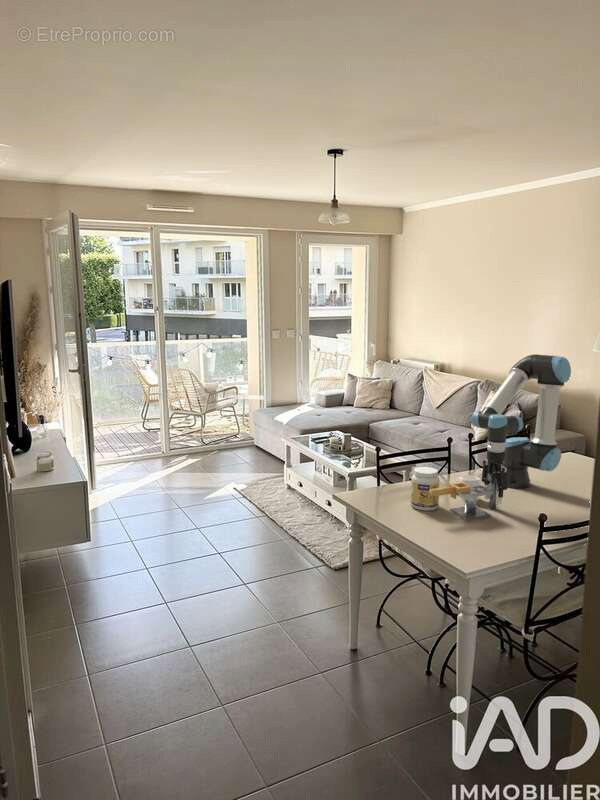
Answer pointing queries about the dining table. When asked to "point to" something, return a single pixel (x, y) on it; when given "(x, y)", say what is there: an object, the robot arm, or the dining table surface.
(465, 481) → the cup
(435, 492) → the wooden handled frame
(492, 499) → the wedge pin
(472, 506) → the ball joint plate
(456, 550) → the dining table surface
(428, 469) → the supplement tub
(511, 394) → the robot arm
